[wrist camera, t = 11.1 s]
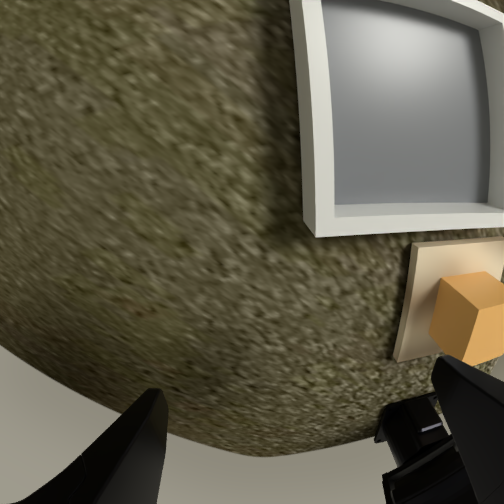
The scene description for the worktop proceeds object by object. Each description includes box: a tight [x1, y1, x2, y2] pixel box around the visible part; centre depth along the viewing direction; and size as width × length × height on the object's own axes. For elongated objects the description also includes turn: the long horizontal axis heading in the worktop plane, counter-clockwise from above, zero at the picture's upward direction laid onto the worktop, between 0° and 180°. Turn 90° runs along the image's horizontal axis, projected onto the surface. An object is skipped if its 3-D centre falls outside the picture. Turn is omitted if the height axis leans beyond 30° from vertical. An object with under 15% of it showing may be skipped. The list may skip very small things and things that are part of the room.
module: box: [429, 271, 504, 366], centre depth 19 cm, size 5×5×5 cm
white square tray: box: [289, 0, 504, 237], centre depth 15 cm, size 16×16×4 cm
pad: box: [393, 236, 504, 362], centre depth 21 cm, size 10×10×1 cm
